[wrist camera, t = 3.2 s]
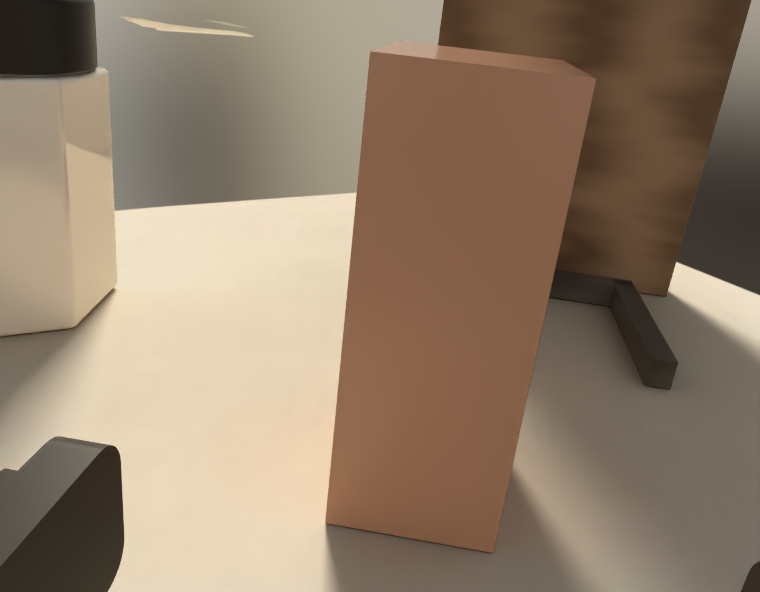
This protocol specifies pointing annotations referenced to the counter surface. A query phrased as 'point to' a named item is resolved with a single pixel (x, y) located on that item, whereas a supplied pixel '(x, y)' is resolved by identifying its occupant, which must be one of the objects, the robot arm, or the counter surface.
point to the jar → (53, 167)
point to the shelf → (624, 136)
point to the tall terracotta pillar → (449, 283)
